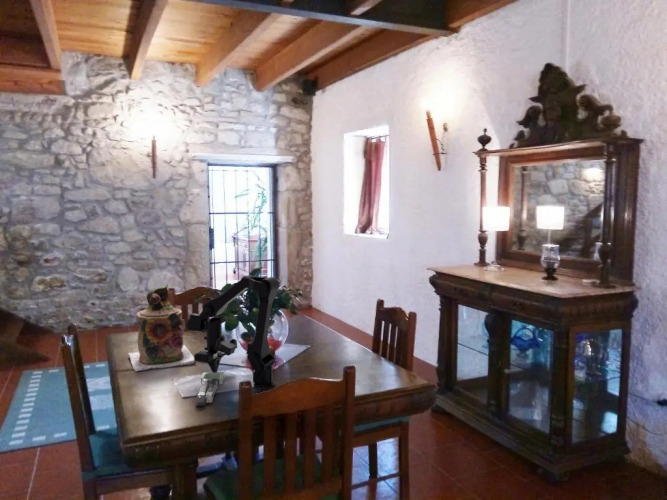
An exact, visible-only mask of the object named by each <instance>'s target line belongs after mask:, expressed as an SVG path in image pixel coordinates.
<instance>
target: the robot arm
mask: <svg viewBox="0 0 667 500" xmlns="http://www.w3.org/2000/svg"><path fill="white" fill-rule="evenodd" d="M248 289H250V290H251V291H254V292H256V295H257V298H258V302H259V303H258V310H257V317H256V324H255V331H254V339H253V340H252V341H250V342H248V343H247V346H246V347H247V349H246V352H245V354H246V357H247V360H248V362H249V363H250V367H251V369H252V383H253V386H254V387H266V386H267V387H268V386H269V387H270V386H273V365H274V364H275V362H276V358H275V356H274V357H273V356H272V355H271V354H270V352H269V346H270V343H269V341H268V336H269V335H268V334H269V330H270V329H269V328H270V322H271V315H272V306H273V303H274V300H275V299H276V297H277V295H278V291H279V289H280V281H278V279H277V278H276V277H274V276H270V277H263V276H253V275H250V274H249V275H246V276H243V277H241V279H240V280H239V281H237V282H236V283H234V285H232V286H231V287H230V288H229V289H227V290H226V291H225V292H223V293H222V294H221V295H219V296H218V297H216V298H213V299H211V300H210V301H207V302H206V303H204V304H203V309H202V310H201V312H200V313H199V314H198V313H191V314H189V318H188V320H187V323H186V328H187V330H188V331H189V332H195V333H196V332H197V333H205V332H206V335H205V336H204V338H203V340H205V341H206V346H204V348H203V349H204V350H200V351H198V352H197V353H195V354H194V361H195V362H201V363H207V365H208V367H210V370H211V372H218V370H219V366H220V363H221V360H222V359H223V357H225V356H231V355H233V354H234V353H235V350H236V349H237V348H238V339H236V338H232V339H230V340H229V339H228V340H227V339H226V336H225V335H224V334H223V328H222V324H223V323H226V322H228V320H227V319H226V318H225V317H224V316H223V315H221V314H223V313H224V311H225V310H227V308H228V307H229V306H228V305H229V304H230V303H231V302H233V301H234V300H235V299H237V297H239V296H240V295H241V294H243V293H244V292H245V291H246V290H248ZM218 315H220V316H218ZM217 316H218V317H217Z"/></svg>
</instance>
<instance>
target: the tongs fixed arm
mask: <svg viewBox="0 0 667 500" xmlns="http://www.w3.org/2000/svg"><path fill="white" fill-rule="evenodd" d="M218 383H219V381H218V379H212V380H210V382H209V388H208V391H207V393H206V398H205V404H208V403H209V404H212V403H213V400H214V397H215V394H216V392H217V388H218Z"/></svg>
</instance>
